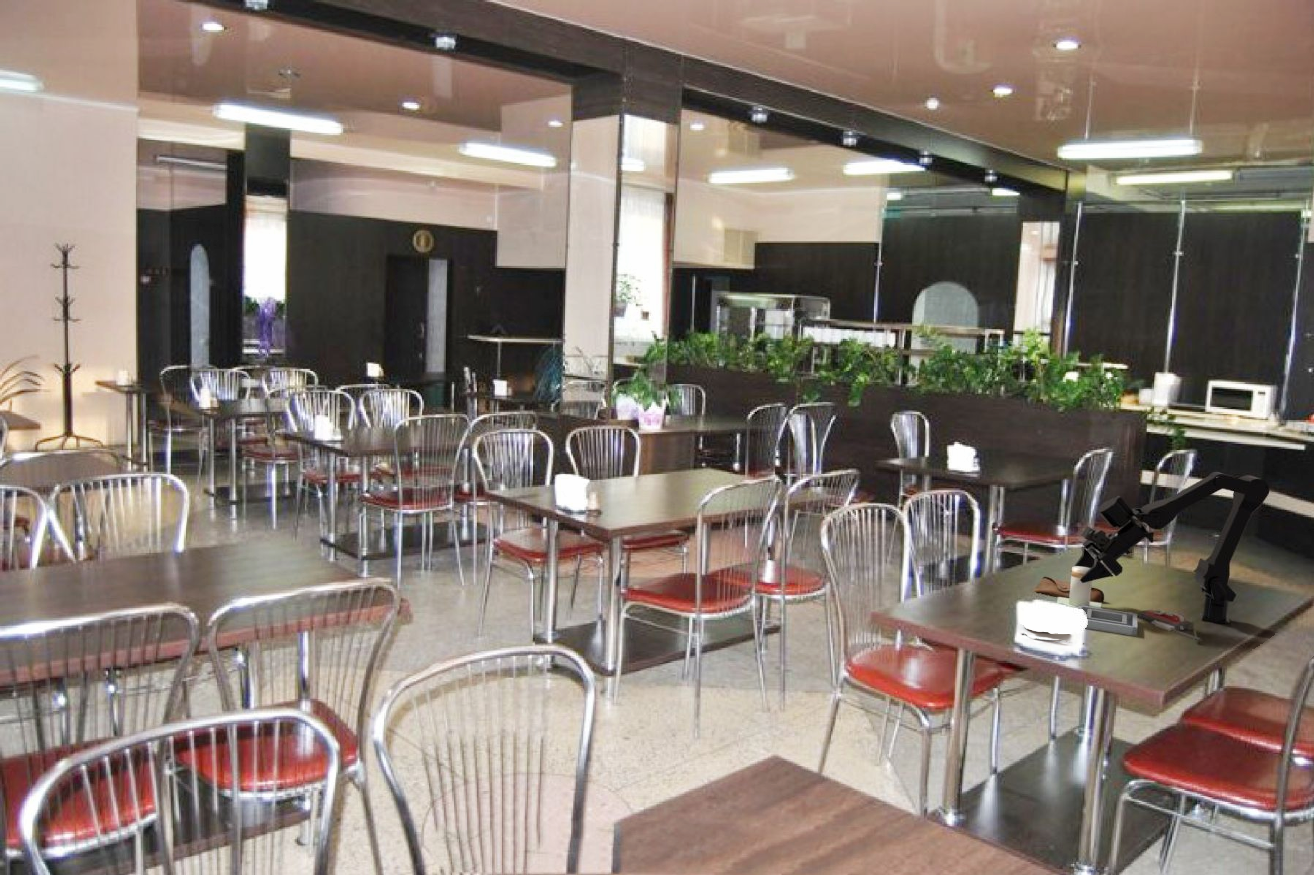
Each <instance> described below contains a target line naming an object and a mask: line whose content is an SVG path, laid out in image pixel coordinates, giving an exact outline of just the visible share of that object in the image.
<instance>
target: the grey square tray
mask: <svg viewBox="0 0 1314 875" xmlns="http://www.w3.org/2000/svg"><path fill="white" fill-rule="evenodd" d="M1078 609H1083V610H1084V611H1085V612H1086V614H1087V619H1088V625H1087V628H1086V629H1089V630H1094V631H1101V632H1106V633H1107V632H1108V633H1112V634H1113V633H1114V634H1119V635H1127V636H1133V637H1137V636H1138V635H1137V634H1138V618H1137V615H1138V613H1134V612H1127V611H1120V610H1114V609H1110V608H1109V609H1108V608H1103V607H1101V608H1096V607H1089V606H1082V605H1078Z"/></svg>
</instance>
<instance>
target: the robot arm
mask: <svg viewBox="0 0 1314 875" xmlns="http://www.w3.org/2000/svg"><path fill="white" fill-rule="evenodd" d="M1221 490H1227V491H1229V492H1230V491H1231V492H1232V507H1231V510H1230V512H1229V515H1228V517H1227V518H1226V521H1225V522H1224V525H1223V528H1222V530H1221V533H1220V534H1219V537H1218V539H1217V541H1216V543H1215V545H1214V548H1213V550H1212V552H1211V554H1210V555H1209V556H1208V557H1207V558H1206V559H1203V558H1202V557H1201V558H1199V560H1198V563H1197V566H1196V567H1195V569H1194V570H1193V572H1194V573H1195V574H1194V580H1195V582H1196V584H1197V585H1198V586H1199V587H1200V589H1201V592H1202V593H1204V599H1203V609H1202V610H1203V611H1202V612H1199V616H1200V619H1201V620H1202V621H1205V622H1206V621H1208V622H1215V623H1220V624H1228V625H1229V624H1231V623H1230V622H1231V621H1230V619H1229V616H1228V612H1229V606H1230V605H1229V604H1230V602H1231V603H1232V602H1233V601H1234V600H1235V598H1236V597H1237V594H1236V593H1235V591H1234V590H1233V589H1232V588H1231V587H1230V586H1229V585H1228V584H1229V579H1230V575H1231V574H1230V573H1231V560H1232V559H1233V557H1234V554H1235V552H1236V549H1237V548H1238V546H1239V543H1240V542H1241V539H1242V537H1243V535H1244V532H1245V530H1246V528H1247V526H1248V523H1249V521H1250V519H1251V517H1252V514H1254V512H1255V511H1256V510H1257V509H1258V508H1260V507H1261V506H1262V505H1263V503H1264V502H1265V501H1266V499H1267V498H1268V497H1269V494H1270V491H1271V487H1270V485H1269V484H1268V482H1267V481H1266V480H1264V479H1262V478H1259V477H1256V476H1254V475H1250V474H1248V475H1243V476H1235V475H1231V474H1226V473H1222V472H1219V471H1213V472H1211V473H1209V475H1207V476H1206V477H1204V478H1202V479H1201V480H1199V481H1197V482H1195V483H1194V484H1192V485H1190V486H1188V487H1186V488H1185V489H1182V490H1181V491H1179V492H1178V493H1176V494H1174V495H1172V496H1170V497H1167V498H1164V499H1160V500H1155V501H1153V502H1151V503H1147V504H1145V505H1143V506H1142V507H1138V508H1131V507H1130V506H1129V505H1128V504H1127V503H1126V502H1125V500H1124V499H1123V497H1122V496H1120V495H1117V496H1115V497H1114V498H1111V499H1108V500H1107V501H1104V502H1103V503H1101V505H1100V506H1098V509H1097V512H1098V513H1099V515H1100V516H1102V518H1103V519H1104V521H1106V523H1108V524H1109V525H1110V527H1112V528H1118V530H1116V531H1115V532H1113V533H1112V532H1108V533H1106V532H1105V531H1104V530H1103V529H1100V528H1098V529H1094V528H1093V527H1091V526H1089V525H1086V527H1085V528H1084V530H1083V531H1082V532H1081V537H1083V538H1084V539H1085V541H1084V542H1082V543H1081V545H1082V546H1081V556H1080V557H1079V558H1078V560H1077V561H1076V562H1075V565H1074V566H1081V567H1087V568H1090V569H1089V570H1088V571H1087V572H1086V573H1085V575H1084V576H1083V577H1082V578H1081V579H1080V581H1081V582H1082V583H1085V582H1089V581H1092V582H1094V581H1096V580H1101V579H1105V578H1110V577H1111V578H1113V577H1114V576H1115V577H1118V576H1119V575H1120V574H1122V573H1123V570H1124V569H1123V566H1122V565H1121V563H1120V562H1119V561H1117V560H1119V559H1120V558H1121V557H1123V556H1124V555H1125V554H1126V555H1127V556H1129V555H1130V554H1131V551H1130V550H1131V549H1133V548H1134V547H1135V546H1136V545H1138V544H1139V543H1140V542H1142V541H1143V540H1144V539H1145V540H1146V541H1148V542H1150V543H1154V536H1155V531H1152V530H1153V529H1154V530H1161V529H1165V527H1167V526H1168V525H1169V524H1170V523H1172V522H1173V521H1175V519H1176V518H1177V517H1178V515H1179V514H1180V513H1182V512H1183V511H1184V510H1186V509H1188V508H1191V506H1192V507H1193V506H1194V505H1195V504H1197V503H1199V502H1201V501H1202V500H1204V499H1207V498H1208V497H1209V496H1212V495H1213V494H1215V493H1217V492H1219V491H1221ZM1134 519H1135V520H1137V521H1138V523H1137V522H1135V520H1134ZM1143 524H1144V525H1143ZM1145 526H1147V527H1149V528H1151V529H1152V530H1148V529H1147V528H1146V527H1145ZM1070 572H1072V569H1071V570H1070Z"/></svg>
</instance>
